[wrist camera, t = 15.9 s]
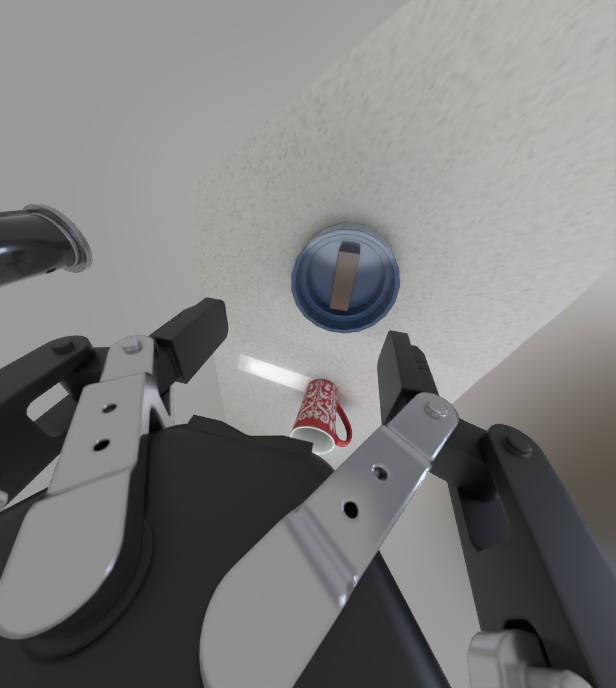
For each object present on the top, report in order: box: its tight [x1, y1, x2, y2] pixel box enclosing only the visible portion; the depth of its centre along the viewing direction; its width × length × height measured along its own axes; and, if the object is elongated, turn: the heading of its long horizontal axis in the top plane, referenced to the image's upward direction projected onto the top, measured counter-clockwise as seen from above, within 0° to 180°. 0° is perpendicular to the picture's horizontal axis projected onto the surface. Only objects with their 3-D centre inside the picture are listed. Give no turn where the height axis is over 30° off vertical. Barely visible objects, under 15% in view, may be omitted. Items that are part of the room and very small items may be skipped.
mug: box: [290, 380, 352, 454], centre depth 49 cm, size 13×9×14 cm
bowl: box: [291, 223, 400, 333], centre depth 35 cm, size 15×15×6 cm
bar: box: [330, 245, 360, 311], centre depth 35 cm, size 9×3×3 cm, turn 175°
